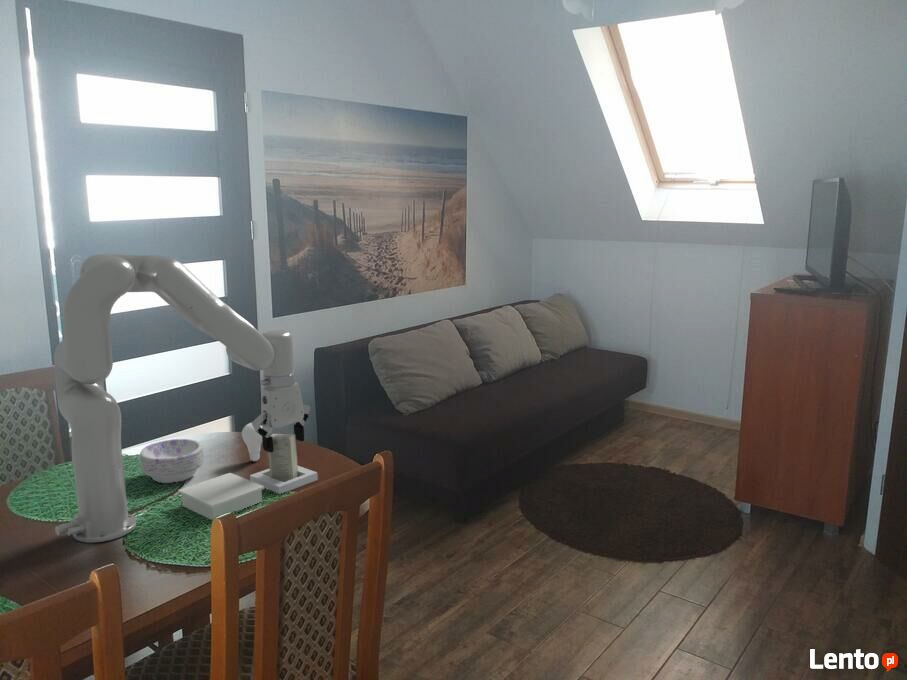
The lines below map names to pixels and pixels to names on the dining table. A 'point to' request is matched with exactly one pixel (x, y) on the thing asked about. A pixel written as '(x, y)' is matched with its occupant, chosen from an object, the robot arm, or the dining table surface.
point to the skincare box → (283, 457)
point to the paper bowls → (172, 460)
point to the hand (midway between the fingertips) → (284, 445)
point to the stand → (221, 495)
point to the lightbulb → (252, 441)
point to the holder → (281, 487)
